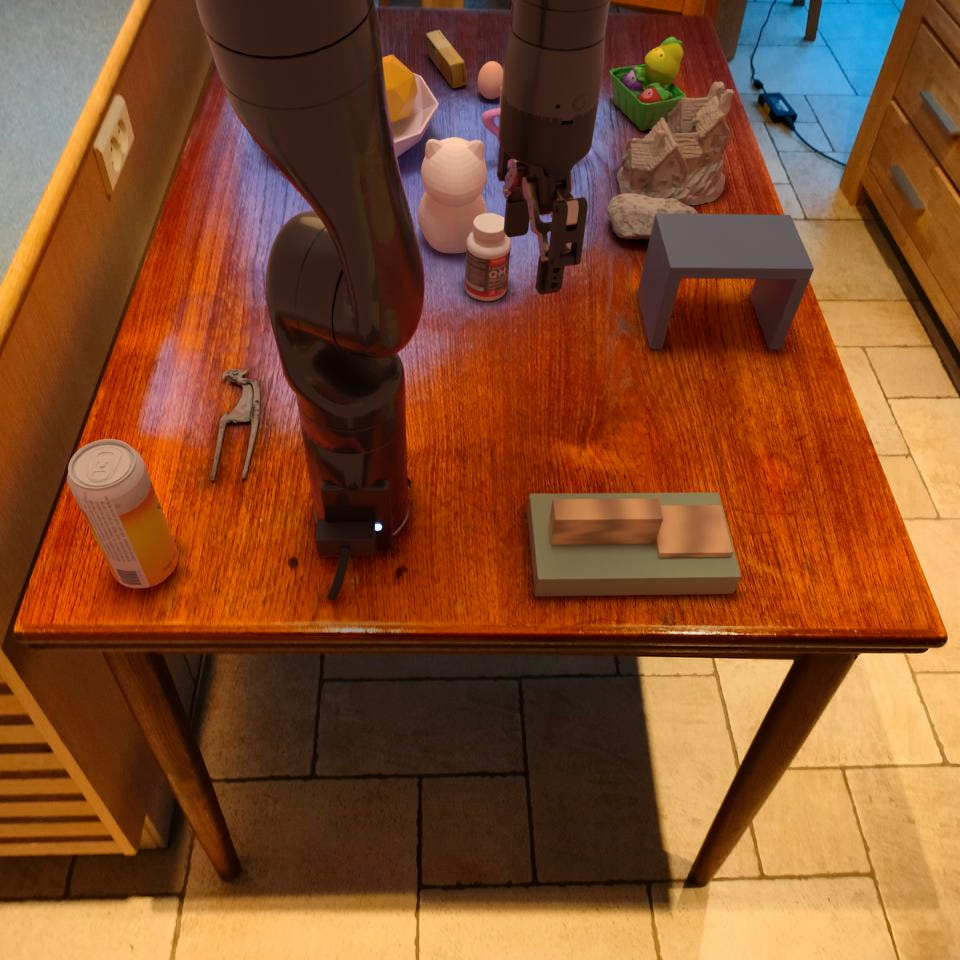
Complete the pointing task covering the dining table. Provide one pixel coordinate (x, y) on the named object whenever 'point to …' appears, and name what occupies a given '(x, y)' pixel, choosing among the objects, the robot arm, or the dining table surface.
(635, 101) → the fruit basket
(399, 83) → the fruit bowl
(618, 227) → the decorative stone
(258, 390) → the nutcracker
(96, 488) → the beer can
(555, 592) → the low shelf
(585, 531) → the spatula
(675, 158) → the ceramic cottage
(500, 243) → the pill bottle
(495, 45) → the dining table surface
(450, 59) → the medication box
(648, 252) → the upper shelf
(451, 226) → the cat figurine
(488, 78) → the egg
